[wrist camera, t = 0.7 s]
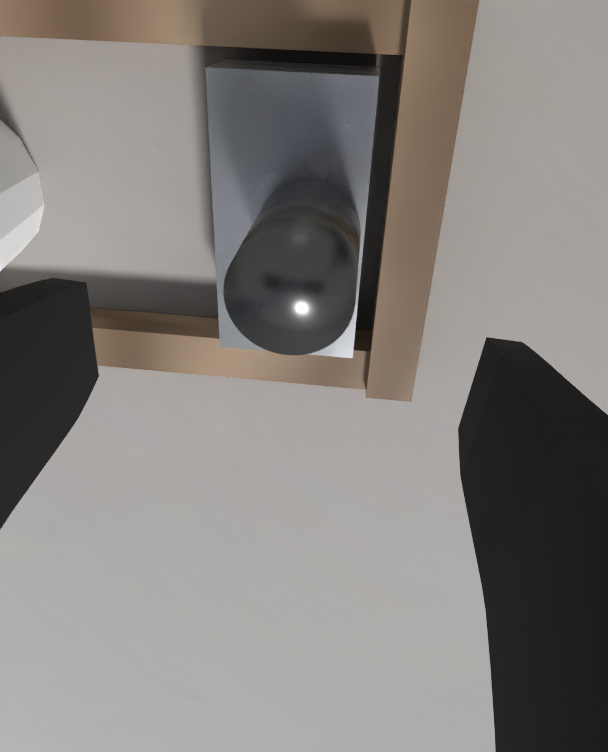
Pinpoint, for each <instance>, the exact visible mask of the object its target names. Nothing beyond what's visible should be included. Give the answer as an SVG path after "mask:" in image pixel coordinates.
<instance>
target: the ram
mask: <svg viewBox="0 0 608 752" xmlns="http://www.w3.org/2000/svg"><path fill="white" fill-rule="evenodd" d="M205 74H206V93H207V111H208V130H209V149H210V168H211V187H212V206H213V225H214V244H215V262H216V281H217V300H218V319H219V338H220V347H228V348H240V349H251V350H263V351H270V352H273V353H277V354H282V355H305V354H309V355H321V356H332V357H344V358H353V349H354V339H355V328H356V318H357V307H358V297H359V286H360V276H361V265H362V255H363V244H364V233H365V223H366V212H367V202H368V191H369V181H370V170H371V160H372V149H373V139H374V128H375V118H376V107H377V97H378V86H379V67H370V66H350V65H330V64H309V63H289V62H269V61H249V60H229V59H226V60H223V61H221V62H218V63H216V64H213V65H210V66H208V67H205Z"/></svg>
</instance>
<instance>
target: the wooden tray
mask: <svg viewBox="0 0 608 752" xmlns="http://www.w3.org/2000/svg"><path fill="white" fill-rule="evenodd" d="M478 3H479V0H0V36H14V37H35V38H56V39H77V40H98V41H118V42H139V43H160V44H181V45H201V46H222V47H243V48H264V49H284V50H305V51H326V52H347V53H368V54H388V55H402V58H401V67H400V76H399V85H398V94H397V102H396V111H395V120H394V129H393V138H392V147H391V156H390V165H389V174H388V183H387V192H386V201H385V210H384V218H383V227H382V236H381V245H380V254H379V263H378V272H377V281H376V290H375V299H374V308H373V317H372V326H371V331H366V330H355V339H354V349H353V358H344V357H332V356H321V355H309V354H305V355H282V354H277V353H273V352H270V351H263V350H251V349H240V348H228V347H220V338H219V319H218V318H209V317H197V316H185V315H173V314H161V313H148V312H136V311H124V310H112V309H100V308H90V314H91V321H92V329H93V337H94V344H95V352H96V359H97V365H99V366H110V367H121V368H132V369H143V370H154V371H165V372H177V373H188V374H199V375H210V376H221V377H232V378H243V379H254V380H265V381H276V382H287V383H298V384H309V385H321V386H332V387H343V388H354V389H365V390H366V398H376V399H387V400H398V401H409V402H411V400H412V394H413V388H414V382H415V376H416V370H417V364H418V359H419V353H420V347H421V341H422V335H423V329H424V323H425V317H426V311H427V305H428V299H429V293H430V288H431V282H432V276H433V270H434V264H435V258H436V252H437V246H438V240H439V234H440V228H441V222H442V216H443V211H444V205H445V199H446V193H447V187H448V181H449V175H450V169H451V163H452V157H453V151H454V145H455V140H456V134H457V128H458V122H459V116H460V110H461V104H462V98H463V92H464V86H465V80H466V74H467V68H468V63H469V57H470V51H471V45H472V39H473V33H474V27H475V21H476V15H477V9H478Z"/></svg>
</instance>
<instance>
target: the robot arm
mask: <svg viewBox="0 0 608 752" xmlns="http://www.w3.org/2000/svg"><path fill="white" fill-rule="evenodd" d="M98 377H99V374H98V367H97V359H96V352H95V344H94V337H93V329H92V321H91V314H90V306H89V299H88V291H87V284H86V282H78V281H71V280H64V279H56V278H52V279H47V280H42V281H38V282H34V283H30V284H27V285H23V286H20V287H17V288H14V289H11V290H8V291H5V292H2V293H0V529H1V528H2V526H3V524H4V523H5V521H6V520H7V518H8V517H9V515H10V514H11V512H12V511H13V509H14V508H15V507H16V505H17V504H18V502H19V501H20V500H21V498H22V497H23V495H24V494H25V493H26V491H27V490H28V488H29V487H30V486H31V484H32V483H33V481H34V480H35V479H36V477H37V476H38V474H39V473H40V472H41V470H42V469H43V468H44V466H45V465H46V463H47V462H48V461H49V459H50V458H51V456H52V455H53V454H54V452H55V451H56V449H57V448H58V447H59V445H60V444H61V442H62V441H63V439H64V438H65V437H66V435H67V434H68V432H69V431H70V429H71V428H72V427H73V425H74V424H75V422H76V421H77V419H78V417H79V415H80V414H81V412H82V410H83V408H84V406H85V404H86V402H87V400H88V398H89V396H90V394H91V392H92V390H93V388H94V385H95V383H96V381H97V379H98ZM458 433H459V458H460V475H461V481H462V486H463V492H464V497H465V502H466V507H467V513H468V518H469V523H470V528H471V533H472V538H473V543H474V548H475V553H476V558H477V563H478V568H479V573H480V578H481V583H482V589H483V596H484V602H485V609H486V619H487V630H488V642H489V654H490V665H491V680H492V695H493V710H494V725H495V745H496V752H608V415H607V414H606V413H605V412H603V411H602V410H601V409H600V408H599V407H597V406H596V405H595V404H594V403H593V402H592V401H590V400H589V399H588V398H587V397H586V396H585V395H583V394H582V393H581V392H580V391H579V390H578V389H577V388H575V387H574V386H573V385H572V384H571V383H570V382H569V381H568V380H566V379H565V378H564V377H563V376H562V375H561V374H560V373H559V372H557V371H556V370H555V369H554V368H553V367H552V366H551V365H550V364H548V363H547V362H546V361H545V360H544V359H543V358H542V357H540V356H539V355H538V354H537V353H536V352H535V351H533V350H532V349H531V348H529V347H528V346H527V345H525V344H524V343H522V342H517V341H510V340H502V339H495V338H488V337H487V338H486V341H485V344H484V347H483V351H482V354H481V357H480V360H479V364H478V367H477V370H476V373H475V376H474V380H473V383H472V386H471V389H470V393H469V396H468V399H467V402H466V405H465V409H464V412H463V415H462V418H461V422H460V425H459V428H458Z"/></svg>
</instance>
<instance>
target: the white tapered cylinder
mask: <svg viewBox="0 0 608 752" xmlns="http://www.w3.org/2000/svg"><path fill="white" fill-rule="evenodd" d="M44 205H45V203H44V197H43V192H42V187H41V182H40V176H39V171H38V169H37V168H36V166H35V164H34V162H33V161H32V159H31V157H30V155H29V153H28V152H27V150H26V148H25V146H24V144H23V143H22V141H21V139H20V138H19V137H18V136H17V135H16V134H15V133H14V132H13V131H12V130H11V129H10V128H9V127H8V126H7V125H6V124H5V123H4V122H3V121H2V120H1V119H0V271H1V270H2V269H3V268H4V267H5V266H6V265H7V264H8V263H9V262H10V261H12V260H13V259H14V258H15V257H16V256H17V255H18V254H19V253H20V252H21V251H22V250H23V249H24V248H25V246H26V245H27V244H28V243H29V242H30V241H31V240H32V238H33V237H34V236H35V235H36V234H37V233H38V232H39V228H40V223H41V219H42V214H43V210H44Z"/></svg>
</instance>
